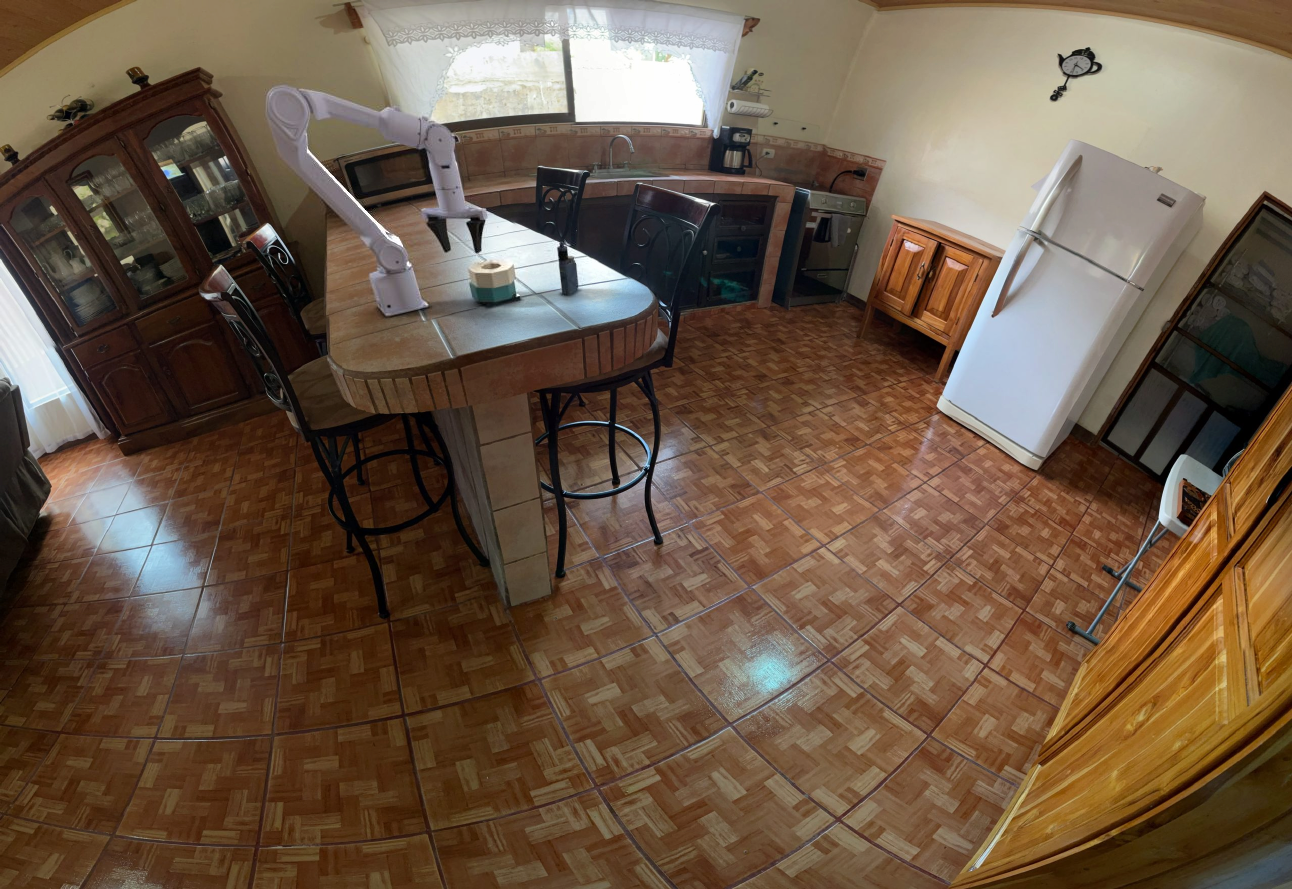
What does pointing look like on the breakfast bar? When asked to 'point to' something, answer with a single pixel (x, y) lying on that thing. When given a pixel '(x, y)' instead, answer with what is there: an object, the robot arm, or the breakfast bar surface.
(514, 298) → the peg stand
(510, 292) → the teal ring
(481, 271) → the cream ring
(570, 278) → the vaping device
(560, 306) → the breakfast bar surface
